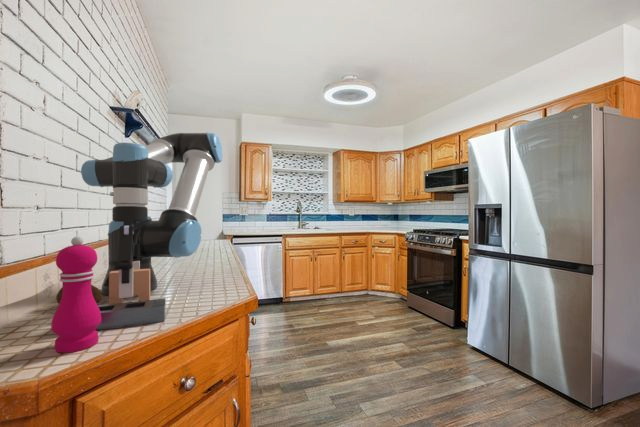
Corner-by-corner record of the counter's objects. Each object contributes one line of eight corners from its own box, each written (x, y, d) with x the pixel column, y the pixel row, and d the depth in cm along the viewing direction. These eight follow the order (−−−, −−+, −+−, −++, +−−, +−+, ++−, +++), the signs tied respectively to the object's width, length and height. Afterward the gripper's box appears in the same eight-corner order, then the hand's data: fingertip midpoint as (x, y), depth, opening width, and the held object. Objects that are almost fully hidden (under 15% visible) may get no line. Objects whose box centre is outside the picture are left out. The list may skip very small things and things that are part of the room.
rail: (74, 323, 68) (74, 307, 68) (165, 312, 76) (165, 298, 76) (63, 334, 62) (63, 317, 62) (164, 321, 69) (164, 305, 69)
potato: (92, 310, 78) (92, 282, 78) (46, 312, 77) (46, 284, 77) (107, 302, 85) (107, 277, 85) (65, 304, 84) (65, 278, 84)
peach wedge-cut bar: (111, 311, 77) (111, 271, 77) (150, 306, 80) (150, 268, 80) (109, 314, 74) (109, 273, 74) (149, 310, 78) (149, 270, 78)
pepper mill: (74, 356, 52) (74, 238, 52) (40, 352, 54) (40, 237, 54) (110, 339, 59) (110, 235, 60) (79, 336, 61) (80, 235, 61)
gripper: (121, 207, 87) (120, 282, 87) (101, 203, 65) (100, 305, 64) (151, 207, 90) (151, 280, 90) (142, 204, 68) (142, 301, 67)
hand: (130, 290), depth 77 cm, fingers open, 13 cm apart
